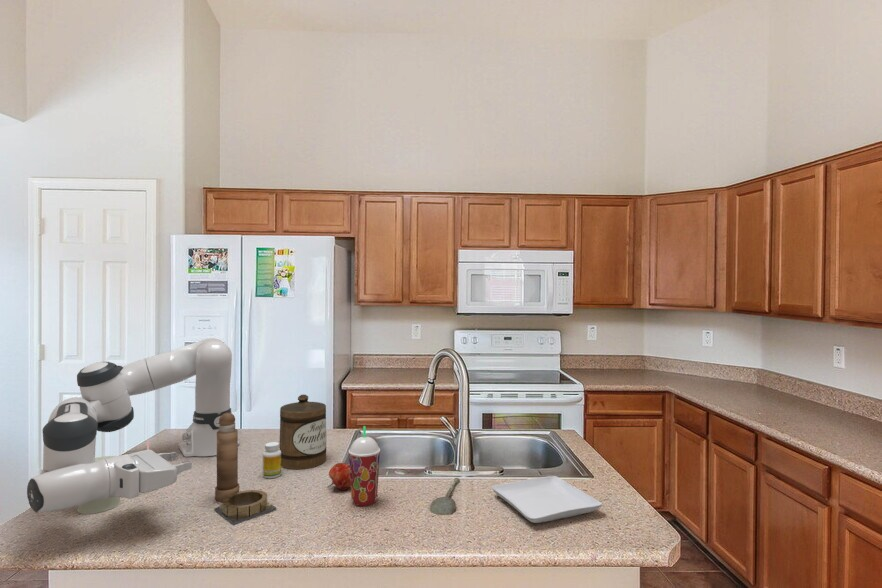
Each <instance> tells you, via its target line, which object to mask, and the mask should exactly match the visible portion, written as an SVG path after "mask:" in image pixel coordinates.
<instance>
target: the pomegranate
mask: <svg viewBox="0 0 882 588" xmlns="http://www.w3.org/2000/svg"><path fill="white" fill-rule="evenodd" d="M328 476H329V478H330V479H331V484H329V485H327V488H330V487H331V486H333V485H335V486H336V487H337V488H338V489H339V490H341V491H342V490H347V489H349V488H351V482H350V466H349V464H348V463H345V462H338V463H336V464H334V465H333V466H332V467H331V468H330V469H329V472H328Z"/></svg>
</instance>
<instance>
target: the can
mask: <svg viewBox="0 0 882 588" xmlns="http://www.w3.org/2000/svg"><path fill="white" fill-rule="evenodd" d="M115 456H116V455H115ZM115 456H114V455H112V456H111V455H108V456H107V455H106V456H99V457H95V462H97V461H99V460H101V459H106V458H110V457H115ZM121 502H122V500H121V497H111V498H107V499H96V500H92V501H90V502H88V503H86V504H84V505H80V506H77V513H79V514H82V515H94V514H99V513H103V512H104V513H105V512H107V511H109V510H112V509H114V508H117V507H118V506H119V505H120V504H121Z"/></svg>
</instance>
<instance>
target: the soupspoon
mask: <svg viewBox="0 0 882 588" xmlns="http://www.w3.org/2000/svg"><path fill="white" fill-rule="evenodd" d="M460 482H461V479H460V478H459V477H454V480H453V482H452V484H451V485H450V487H449V488H448V490H447V492H446V494H445V496H440V497H437V498H435V499H433V500H432V501H431V502H430V505H429V510H430V512H431V514H434V515H439V516H450V515H452V514H453V513H454V512H455V510H456V506H457V504H456V501H455V500H454V499H453V498H451V497H449V496H450V494H451V492H452V490H453V488H454V486H455V485H456V484H458V483H460Z"/></svg>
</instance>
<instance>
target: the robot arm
mask: <svg viewBox="0 0 882 588" xmlns="http://www.w3.org/2000/svg"><path fill="white" fill-rule="evenodd" d="M232 361H233V355H232V350H231V348H230V347H229V345H227V344H226V343H225V342H223V341H222V340H221V339H218V338H215V337H209V338H205V339H202V340H199V341H195V342H192V343H190V344H188V345H184V346H180V347H179V348H176V349H173V350H169V351H166V352H163V353H160V354H156V355H152V356H150V357H149V356H148V357H146V358H142V359H139V360H136V361H134V362H131V363H129V364H126V365H124V366H122V365H117V364H116V363H115V362H114V363H113V362H110V361H100V362H93V363H91V364H89V365H87V366H84V368H82V369H80V370H79V371H78V373H77V374H76V382H77V386H78V387H79V390H80V395H81V397H70V398H67V399H64V400H63V401H61V402H59V403H58V405H56V407H55V408H54V409H53V410H52V412H51V413H50V415H49V418H48V421H47V423H45V425H44V426H43V428H42V430H41V431H42V440H43V449H42V450H43V451H42V452H43V454H42V470H41V473H40V474H37V475H35V476H33V477H31V478H30V479H29V481H28V483H27V486H26V495H27V496H26V497H27V501H28V505H29V507H30V508H31V509H32V510H33V511H34V512H35V513H40V514H41V513H50V512H56V511H58V512H59V511H62V510H67V509H72V508H75V507H78V506H80V505H84V504H86V503H88V502H90V501H92V500H96V499H107V498H111V497H120V498H125V499H129V500H131V499H135V498H138V497H139V496H140V494H141V493H142V494H146V493H150V492H152V491H153V492H154V491H157V490H159V489H164V488H166V487H169V486H171V485H173V484H175V483H177V481H178V480H177V479H178V475H179V474H182V473H183V472H185V471H188V470H191V469H192V467H193V463H192V462H191V461H190V460H185V461H181V462H180V463H179V464H172V463H171V462H174V461H177V460H178V459H179V453H178V452H176V451H173V452H161V453H156V452H155V451H154V450H152V449H149V450H147V449H144V450H143V449H142V450H141V451H136V452H131V453H129V454H121V455H115V457H110V458H106V459H101V460H99V461H97V462H95V458H96V444H97V443H96V441H97V434H98V432H101V433H112V432H117V431H119V430H122V429H123V428H125V427H127V426H128V425H129V424H131V423H132V421H133V420H134V417H135V412H134V411H135V410H134V407H133V406H132V402H131V398H130V397H132V396H137V395H141V394H146V393H149V392H153V391H156V390H159V389H162V388H166V387H169V386H171V385H175V384H179V383H181V382H183V381H186V380H188V379H189V378H192V377H194V376H195V388H194V391H195V392H194V393H195V394H194V395H195V397H194V398H195V399H194V400H195V402H194V404H195V405H194V408H195V409H194V411H193V414H192V423H191V424H190V425H189V427H187V429H185V430H186V431H185V432H183V433H182V436H181V437H182V441H181V442H179V443H178V448H179V449H180V451H181V453H182V455H183V457H185V458H186V457H211V456H217V431H219V424H220V423H219V419H220V417H221V416H222V415H223V414H224V413H232V408H231V380H232V379H231V377H232ZM232 414H233V413H232ZM240 444H241V443H240V441H239V440H238V446H239V445H240ZM169 461H170V462H169Z"/></svg>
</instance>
